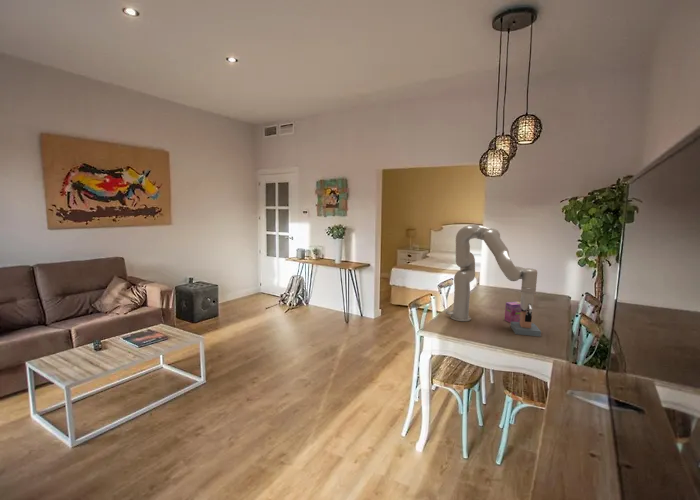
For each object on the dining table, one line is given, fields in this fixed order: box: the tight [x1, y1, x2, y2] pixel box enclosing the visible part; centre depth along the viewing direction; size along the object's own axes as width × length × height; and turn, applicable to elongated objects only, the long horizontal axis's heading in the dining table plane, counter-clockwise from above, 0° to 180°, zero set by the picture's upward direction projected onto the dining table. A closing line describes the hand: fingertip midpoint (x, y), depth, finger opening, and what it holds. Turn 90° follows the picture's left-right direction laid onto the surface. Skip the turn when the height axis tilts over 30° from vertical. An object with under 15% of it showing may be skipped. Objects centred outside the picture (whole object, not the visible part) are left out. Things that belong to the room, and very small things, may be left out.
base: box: [510, 322, 542, 337], centre depth 210 cm, size 13×14×3 cm
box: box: [503, 301, 522, 324], centre depth 229 cm, size 10×6×12 cm, turn 105°
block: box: [520, 311, 533, 328], centre depth 210 cm, size 5×5×8 cm
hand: (525, 319), depth 210 cm, fingers open, 9 cm apart
